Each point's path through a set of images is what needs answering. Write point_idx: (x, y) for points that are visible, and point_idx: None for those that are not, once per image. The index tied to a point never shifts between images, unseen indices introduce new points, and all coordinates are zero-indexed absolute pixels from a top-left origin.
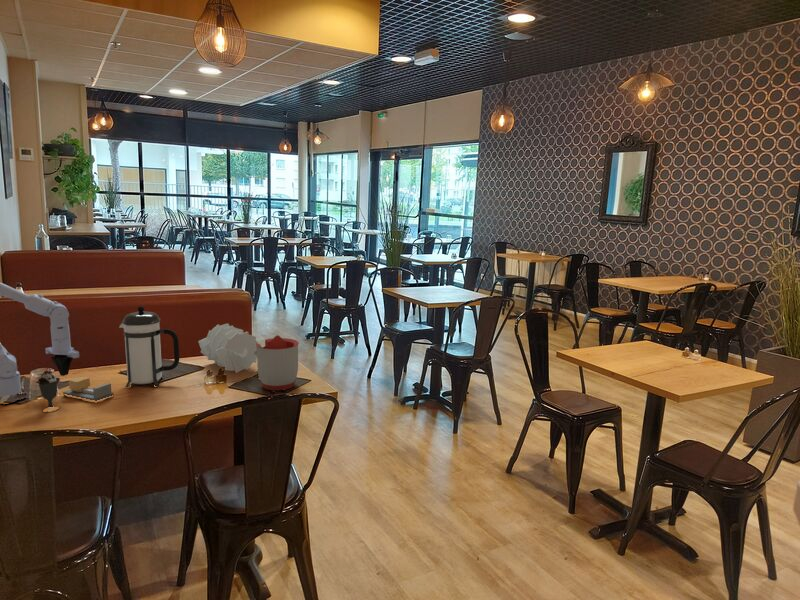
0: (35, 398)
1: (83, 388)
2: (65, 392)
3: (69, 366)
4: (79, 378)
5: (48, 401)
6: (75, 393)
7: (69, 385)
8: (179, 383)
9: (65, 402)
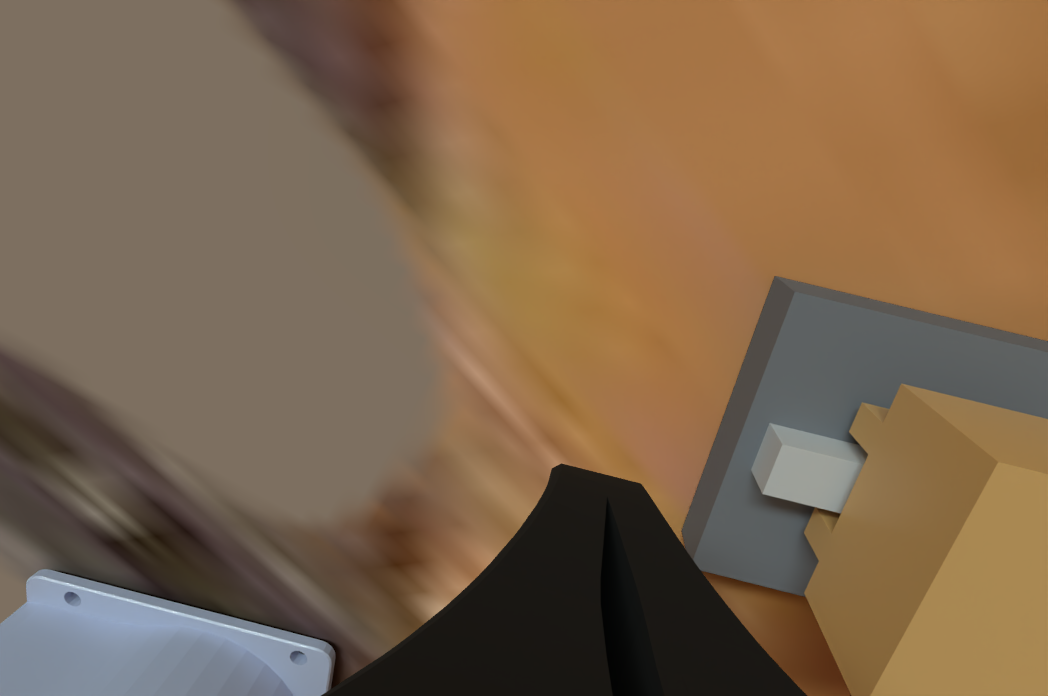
0: (407, 627)
1: None
2: (734, 574)
3: (732, 623)
4: (1031, 591)
5: None
6: None
7: (833, 638)
8: None
9: (848, 692)
